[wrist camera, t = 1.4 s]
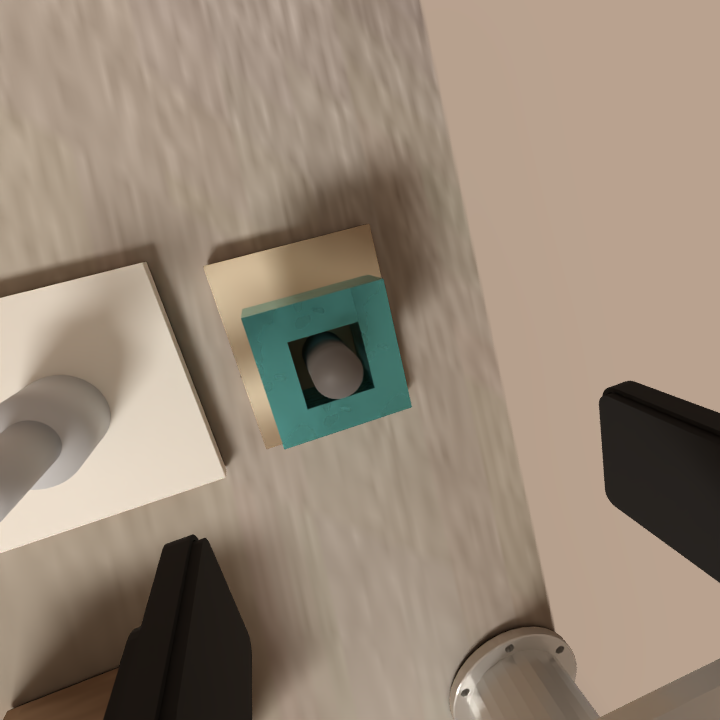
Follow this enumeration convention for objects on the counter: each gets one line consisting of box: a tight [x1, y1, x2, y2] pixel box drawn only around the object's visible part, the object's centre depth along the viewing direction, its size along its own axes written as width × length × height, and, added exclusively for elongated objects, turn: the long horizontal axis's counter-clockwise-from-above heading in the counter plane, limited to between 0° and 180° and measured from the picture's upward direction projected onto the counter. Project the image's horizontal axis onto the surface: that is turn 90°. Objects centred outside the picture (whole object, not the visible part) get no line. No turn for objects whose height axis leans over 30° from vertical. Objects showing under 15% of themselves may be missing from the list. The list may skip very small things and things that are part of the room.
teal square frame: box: [241, 275, 412, 449], centre depth 23 cm, size 7×7×3 cm
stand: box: [203, 224, 381, 449], centre depth 24 cm, size 12×10×8 cm
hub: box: [0, 262, 226, 553], centre depth 21 cm, size 14×14×10 cm
